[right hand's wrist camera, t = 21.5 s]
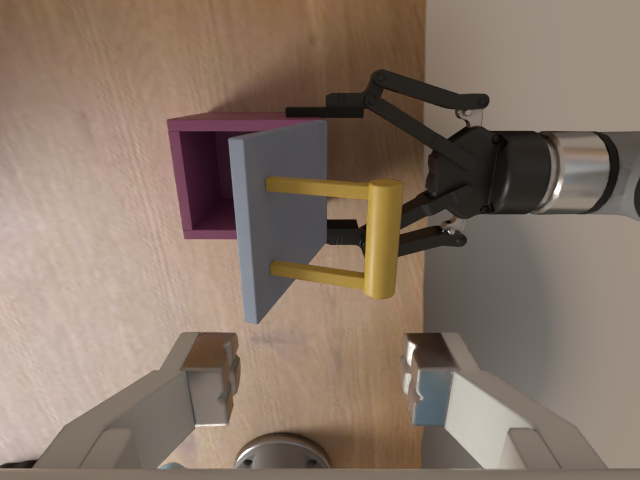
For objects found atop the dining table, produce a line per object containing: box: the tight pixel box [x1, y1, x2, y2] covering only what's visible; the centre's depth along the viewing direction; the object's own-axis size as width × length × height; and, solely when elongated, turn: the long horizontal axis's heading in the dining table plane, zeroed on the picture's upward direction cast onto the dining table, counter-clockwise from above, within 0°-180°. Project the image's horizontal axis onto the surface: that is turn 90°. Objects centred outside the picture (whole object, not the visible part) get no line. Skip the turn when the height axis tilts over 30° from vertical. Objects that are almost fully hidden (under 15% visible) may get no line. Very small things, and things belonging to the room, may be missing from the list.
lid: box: [228, 120, 404, 324], centre depth 23 cm, size 13×10×8 cm
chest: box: [167, 113, 322, 239], centre depth 35 cm, size 12×10×11 cm
